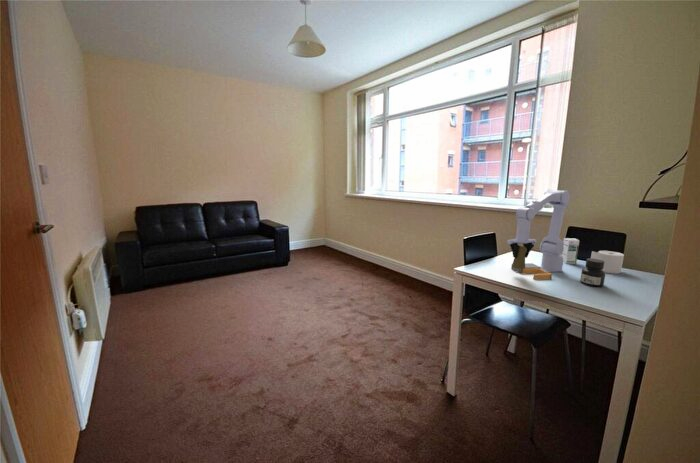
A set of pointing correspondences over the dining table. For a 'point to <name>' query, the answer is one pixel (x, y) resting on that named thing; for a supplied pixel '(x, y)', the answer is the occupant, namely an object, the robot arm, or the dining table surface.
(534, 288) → the dining table surface
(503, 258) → the dining table surface
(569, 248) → the syrup box
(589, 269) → the ink bottle
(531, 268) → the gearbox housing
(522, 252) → the cork
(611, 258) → the toilet tissue
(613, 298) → the dining table surface
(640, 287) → the dining table surface
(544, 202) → the robot arm
